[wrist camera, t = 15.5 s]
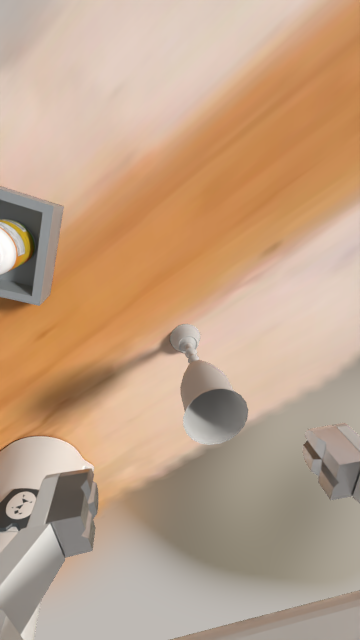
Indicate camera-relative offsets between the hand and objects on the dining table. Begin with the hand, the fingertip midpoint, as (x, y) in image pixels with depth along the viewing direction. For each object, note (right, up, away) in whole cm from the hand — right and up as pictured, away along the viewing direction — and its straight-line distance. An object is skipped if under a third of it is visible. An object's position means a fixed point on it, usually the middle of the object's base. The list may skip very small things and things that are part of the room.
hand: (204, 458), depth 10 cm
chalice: (0, +2, +33) cm, 34 cm away
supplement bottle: (-22, +15, +23) cm, 35 cm away
